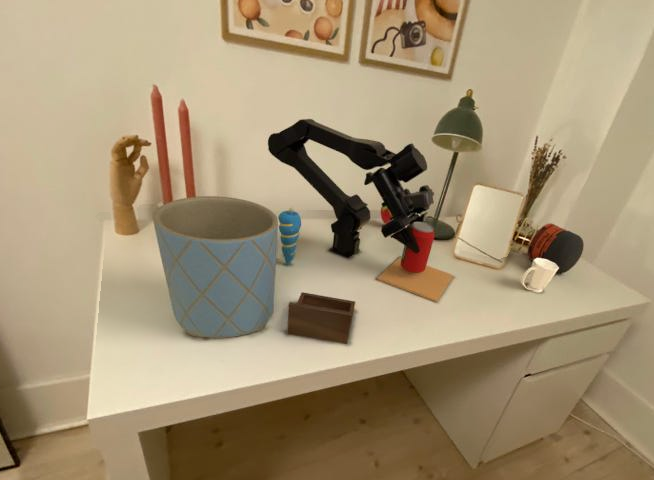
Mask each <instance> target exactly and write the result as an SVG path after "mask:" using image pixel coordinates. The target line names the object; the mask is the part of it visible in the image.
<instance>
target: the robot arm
mask: <svg viewBox="0 0 654 480" xmlns="http://www.w3.org/2000/svg"><path fill="white" fill-rule="evenodd" d="M309 140H310V141H312V142H314V143H317V144H319V145H321V146H323V147H326V148H328V149H331V150H333V151H336V152H338V153H340V154H343V155H344V156H345V157H347V158H348V159H349V160H350V161H351V163H353V164H355V166H357V167H359V168H360V169H362V170H365V171H369V172H366V173H365V179H364V182H363V185H364V186H367V185H370V184H373V185H374V187H375V189H376V191H377V192H378V194H379V196H380V198H381V200H382V202H381V204H380V205H381V207H382V206H383V207H385V206H386V207H387V208H388V210H389V212H390V214H391V216H392V217H391V218H390V220H391V221H389V222H387V223H386V224H385V223H383V225H382V226H381V228H380V233H381V234H382V236H383V237H384V239H386V238H388V237H390V239H394V240H396V241H398V242H399V243H400V244H402V245H403V246H404V245H405V246H406V247H408V248H409V249H411V250H412V251H413V252H415V253H418V252H420V250H419V247H418V244H417V242H416V239H415V237H414V235H413V232H412V229H413V224H414V222H424V223H426V222H425V220H426V218H427V215H428V210H430V207H431V205H434V196H435V192H434V191H433V189H432V188H431V187H430V186H429V185H428V184H425V185H422V186H420V187H419V189H418V191H415V192H411V191H410V189H409V188H404V187H403V185H402V183H401V182H403V183H408V182H410V181H411V180H414V179H415V178H416V177H418V176H420V175H421V174H423V173H424V172H426V171H427V170H428V163H427V160H426V158H425V156H424V154H422V153H421V151H420V150H419V149H418V148H416V147H415V145H414V143H412V142H411V143H408V144H407V145H405V146H404V147H403V148H402V149H401V150H400V151H398V152H396V153H395V152H393V151H391V150H389V149H387V148H386V147H385V145H384V144H383V143H382V142H381V141H378V140H374V139H373V140H372V139H367V138H357V137H353V136H351V135H348V134H346V133H343V132H341V131H338V130H336V129H334V128H331V127H329V126H328V125H327V126H326V125H324V124H322V123H319V122H317V121H315V120H314V119H313V118H301V119H298V120H297V122H295V123H294V124H292V125H291V126H289V127H287V128H285V129H283V130H280V131H279V132H273V133H271V134H270V135H269V137H268V140H267V146H268V148H267V150H268V152H269V153H270V155H272V156H273V158H275V159H277V160H278V161H279V162H281V163H282V164H285V165H287V166H289V167H290V168H293V169H295V170H296V172H298V174H299V175H301V177H302V178H304V180H305V181H306V182H307V183H308V184H309V185H310V186H311V187H312V188H313V189H314V190H315V191H316V192H317V193H318V194H319V195H320V196H321V197H322V198H323V199H324V200H325V201H326V202H327V203H328V204H329V205H330V206H331V207H332V209H333V212H334V215H335V218H336V221H334V222H332V223H330V230H331V233H333V239H332V240H333V241H332V247H329V249H328V251H329V252H332V253H334V254H336V255H339V256H341V257H344V258H345V259H350V258H352V257H354V256H355V255H356V254H359V253H360V251H361V250H360V249H361V248H360V245H361V238H360V235H361V233H360V230H362V229H363V228H364V226H366V225H367V224H369V222H370V221H371V210H370V209H369V207H368V205H369V204H368V203H367V202H364V200H363V199H362V198H361V197H360V195H358V194H357V193H356V194H353V195H348V194H346V193H345V192H344V190H342V189H341V188H340V187H339V185H337V184H336V183H335V181H333V180H332V179H331V178H330V176H329V175H328V174H327V173H325V171H324V170H323V169H322V168H321V167H320V166H319V165H318V164H317V163H316V162H315V161H314V160H313V159H312V158H311V157H310V156H309V154H308V152H307V149H306V146H305V144H306V143H308V141H309ZM387 165H390V166H388V167H387V168H385V167H384V166H387ZM375 168H376V170H375V171H374V172H372V171H370V170H373V169H375ZM377 168H378V169H377Z"/></svg>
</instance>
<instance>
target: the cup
mask: <svg viewBox="0 0 654 480" xmlns="http://www.w3.org/2000/svg"><path fill="white" fill-rule="evenodd" d="M558 269H559V267H558V266H557V265H556V264H555V263H554V262H551V261H549V260H547V259H542V258H536V259H534V260H532V263H531V267H529V268H528V269H526V270H525V271H524V273H523V275H522V277H521V279H520V282H521V285H522V286H523V288H525V289H526V290H527V291H531V292H534V293H542V292H543V291H544V289H545V288H546V286H547V285H548V284H549V283H550V282H551V280H552V279H553V278H554V276H555V275H556V274H555V273H556V272H557V270H558ZM527 276H528V280H527V283H528V284H527V285H526V284H525V279H526V277H527Z"/></svg>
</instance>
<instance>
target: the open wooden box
mask: <svg viewBox="0 0 654 480" xmlns="http://www.w3.org/2000/svg"><path fill="white" fill-rule="evenodd" d="M355 305H356V301H355V300H349V299H343V298H339V297H332V296H327V295H320V294H316V293H309V292H304V291H302V292H300V295H299V297H298V299H297V302H293V301H289V303H288V309H287V311H288V312H287V335H290V336H291V335H292V336H297V337H303V338H308V339H315V340H321V341H326V342H331V343H332V342H333V343H339V344H345V345H347V344H348V343H349V342H348V341H349V337H350V331H351V327H352V322H353V318H354V311H355V307H356V306H355Z"/></svg>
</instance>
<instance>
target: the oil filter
mask: <svg viewBox="0 0 654 480" xmlns="http://www.w3.org/2000/svg"><path fill="white" fill-rule="evenodd" d="M584 247H585V243H584V240H583V237H581V236H580V235H579V234H577V233H574V232H573V231H570V230H566V229H564V228H562V227H560V226H558V225H556V224H554V223H550V222H549V223H546V224H544V225H543V226H542V227H540V228H539V229H538V230H537V231H536V232H535V234H534V235H533V237H532V238H531V240H530V242H529V244H528V248H527V257H528V259H530V260H532V261H533V260H534V259H536V258H542V259H547V260H549V261H551V262H554V263H555V264H556V265H557V266H558V267H559V269H558V270H557V272H556V273H555V275H561V274H565V273H566V272H568V271H570V270H571V269H572V268H573V267H574V266H576V264H577V263H578V262H579V260H580V259H581V258H582V254H583V252H584Z"/></svg>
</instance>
